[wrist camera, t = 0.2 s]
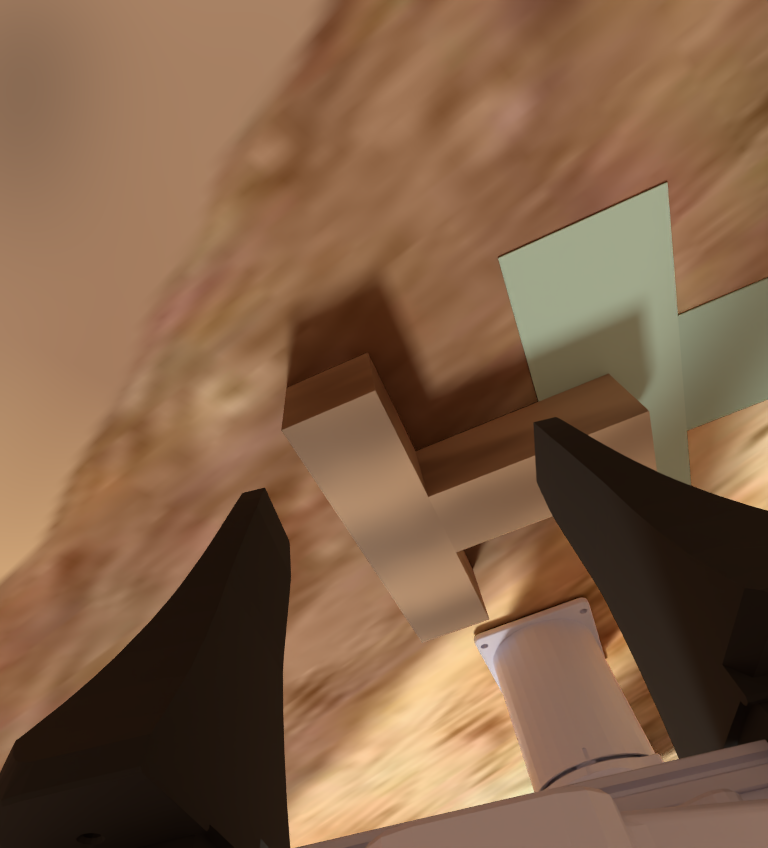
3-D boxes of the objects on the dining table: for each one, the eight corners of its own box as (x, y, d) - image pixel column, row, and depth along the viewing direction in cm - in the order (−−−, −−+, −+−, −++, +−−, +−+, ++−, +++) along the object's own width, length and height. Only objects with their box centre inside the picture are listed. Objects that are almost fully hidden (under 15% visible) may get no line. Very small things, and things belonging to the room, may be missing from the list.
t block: (632, 511, 29) (668, 556, 26) (412, 591, 31) (422, 642, 28) (587, 256, 20) (632, 281, 18) (286, 387, 22) (281, 430, 19)
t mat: (864, 441, 28) (865, 442, 28) (579, 546, 30) (579, 547, 30) (931, 62, 18) (934, 62, 18) (497, 257, 20) (498, 258, 20)
